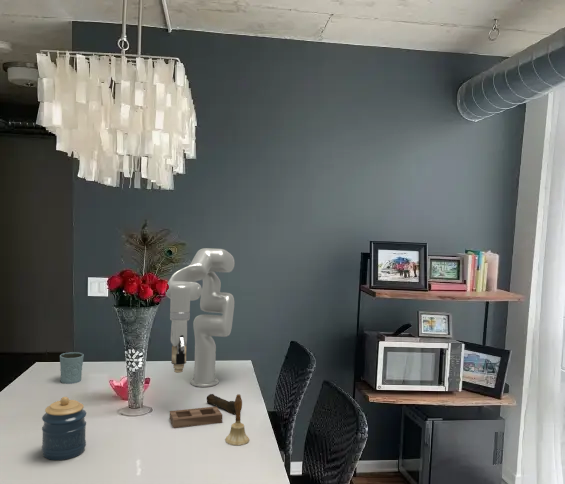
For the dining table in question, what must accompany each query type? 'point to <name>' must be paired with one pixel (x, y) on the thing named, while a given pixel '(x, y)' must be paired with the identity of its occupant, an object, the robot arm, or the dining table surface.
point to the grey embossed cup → (71, 367)
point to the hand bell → (237, 427)
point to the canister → (63, 430)
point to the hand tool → (222, 403)
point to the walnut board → (195, 417)
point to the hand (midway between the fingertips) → (178, 361)
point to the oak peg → (177, 367)
